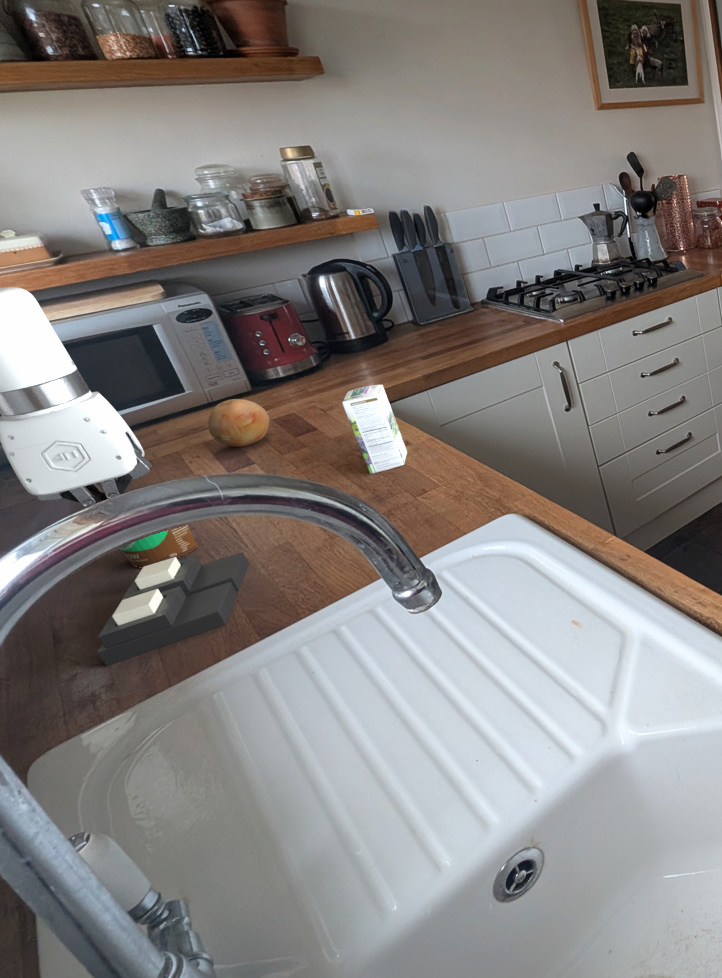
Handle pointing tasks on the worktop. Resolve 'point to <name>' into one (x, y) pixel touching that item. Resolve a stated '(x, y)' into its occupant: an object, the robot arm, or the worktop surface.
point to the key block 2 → (167, 622)
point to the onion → (238, 422)
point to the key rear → (158, 573)
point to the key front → (138, 607)
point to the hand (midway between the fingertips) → (124, 524)
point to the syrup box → (375, 428)
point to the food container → (160, 547)
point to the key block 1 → (200, 576)
